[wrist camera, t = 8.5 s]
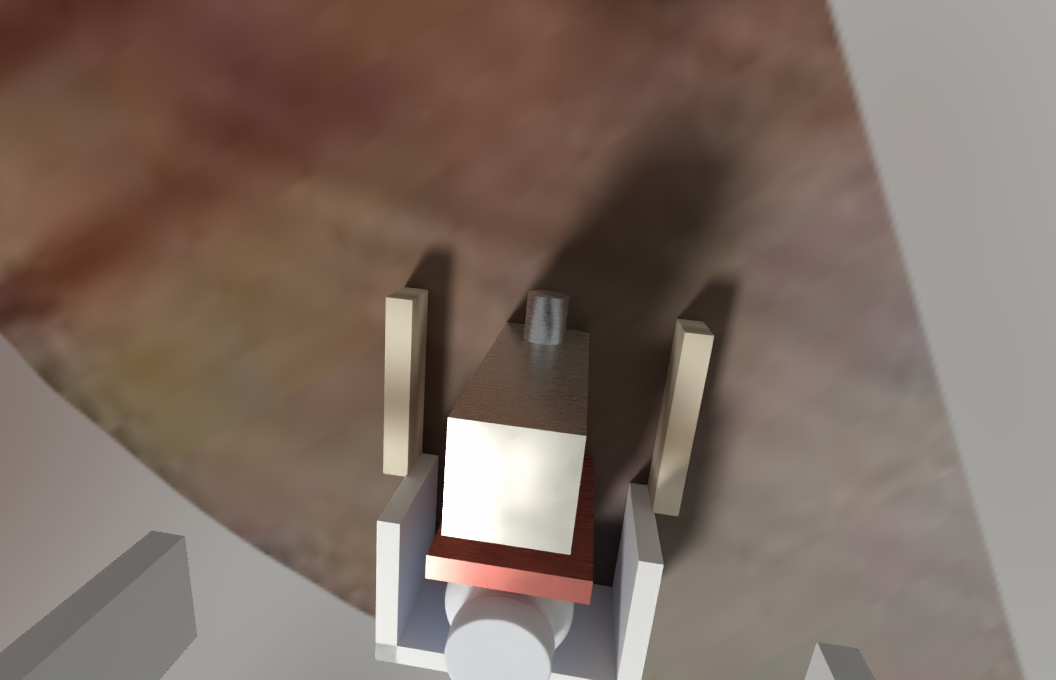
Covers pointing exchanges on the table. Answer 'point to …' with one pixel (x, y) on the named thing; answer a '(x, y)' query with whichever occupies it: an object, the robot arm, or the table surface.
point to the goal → (597, 629)
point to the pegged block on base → (521, 464)
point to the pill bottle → (502, 633)
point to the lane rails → (409, 386)
